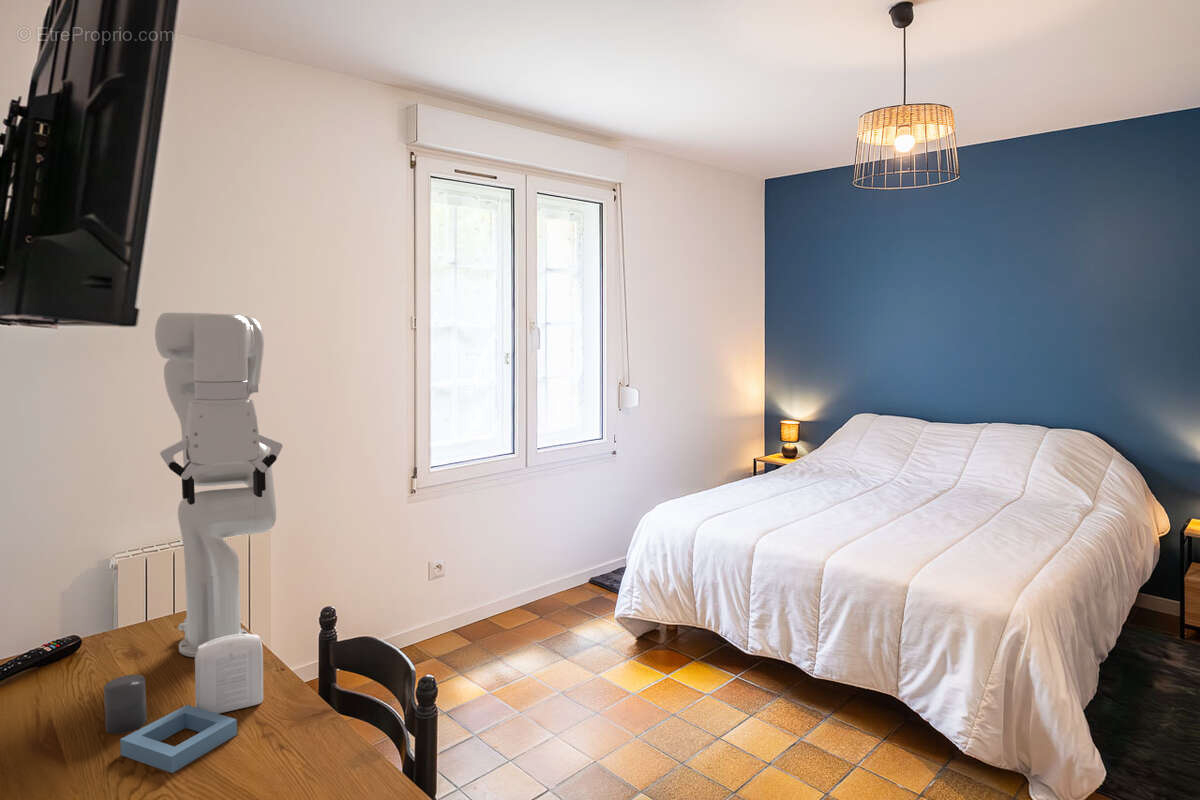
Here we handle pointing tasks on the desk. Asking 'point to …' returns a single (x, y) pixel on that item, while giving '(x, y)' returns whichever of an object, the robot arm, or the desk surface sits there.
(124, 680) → the dark grey cylinder
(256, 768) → the desk surface
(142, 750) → the collar
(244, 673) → the photo printer
